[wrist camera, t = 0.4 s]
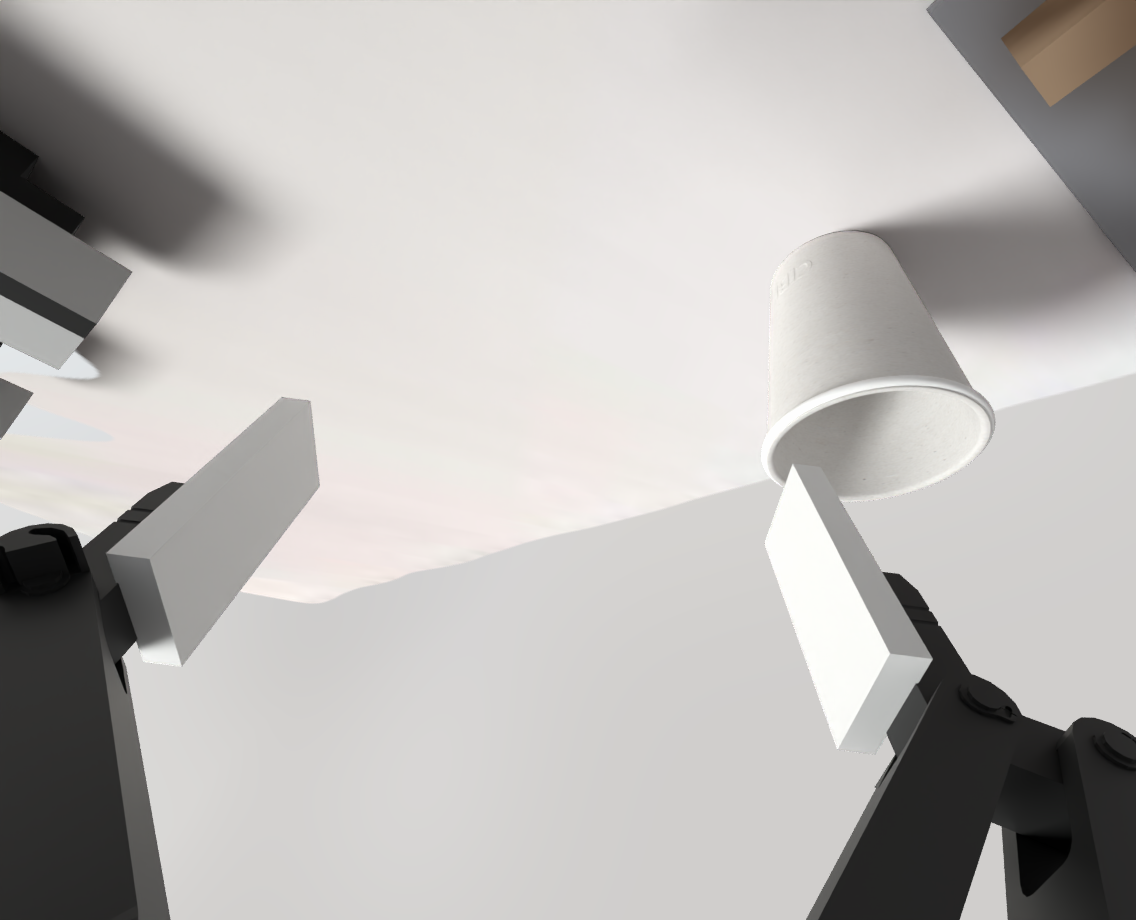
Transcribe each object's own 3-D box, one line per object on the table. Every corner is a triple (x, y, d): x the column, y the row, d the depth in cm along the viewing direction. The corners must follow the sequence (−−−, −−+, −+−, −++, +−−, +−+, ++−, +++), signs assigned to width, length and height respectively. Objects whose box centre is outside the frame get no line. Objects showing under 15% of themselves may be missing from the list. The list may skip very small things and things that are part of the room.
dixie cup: (706, 301, 31) (719, 465, 26) (841, 169, 25) (895, 350, 19) (823, 362, 34) (856, 521, 29) (969, 259, 28) (1047, 437, 23)
